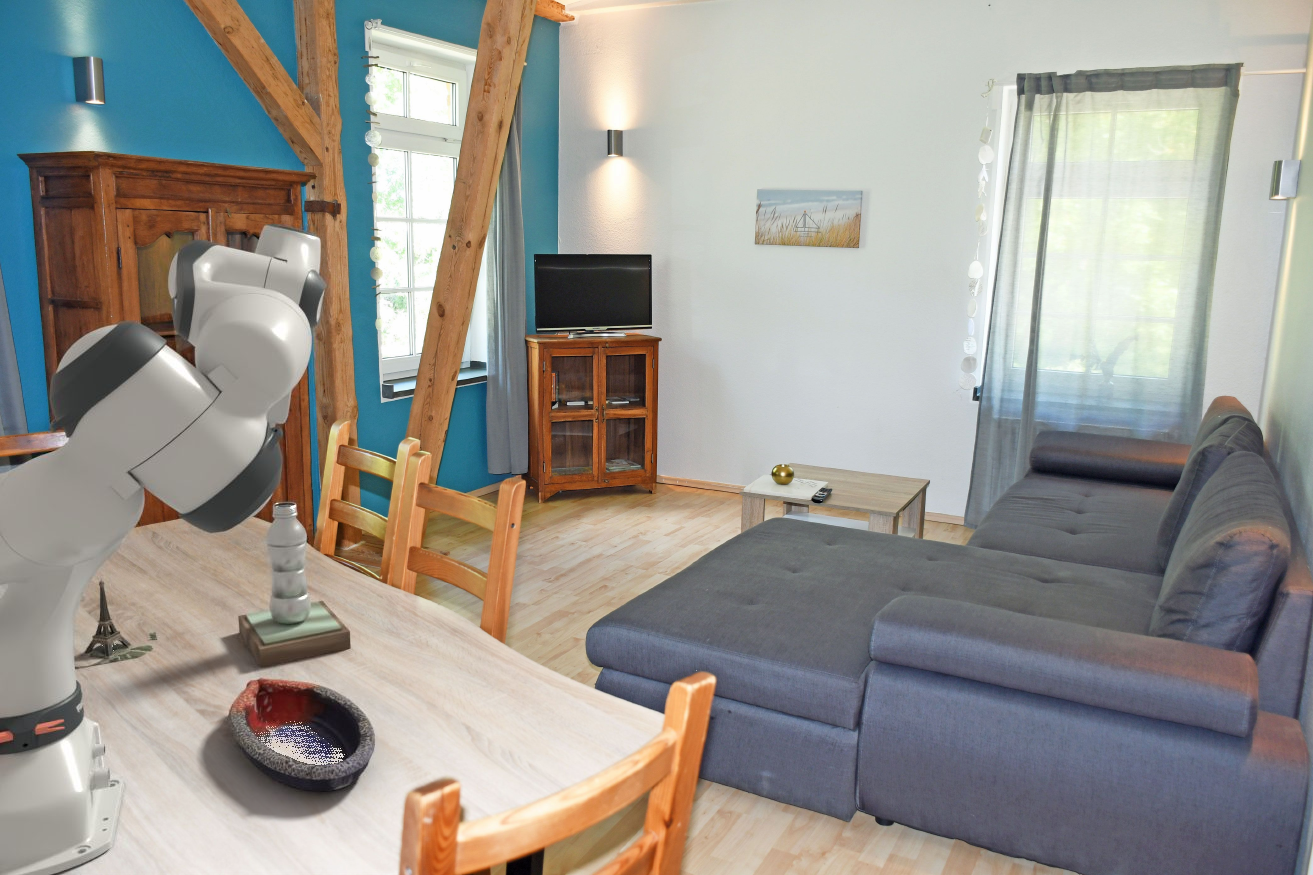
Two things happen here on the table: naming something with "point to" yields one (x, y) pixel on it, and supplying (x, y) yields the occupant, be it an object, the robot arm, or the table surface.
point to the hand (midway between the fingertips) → (257, 430)
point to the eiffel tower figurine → (112, 639)
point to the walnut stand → (293, 635)
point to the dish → (314, 709)
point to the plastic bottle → (287, 565)
